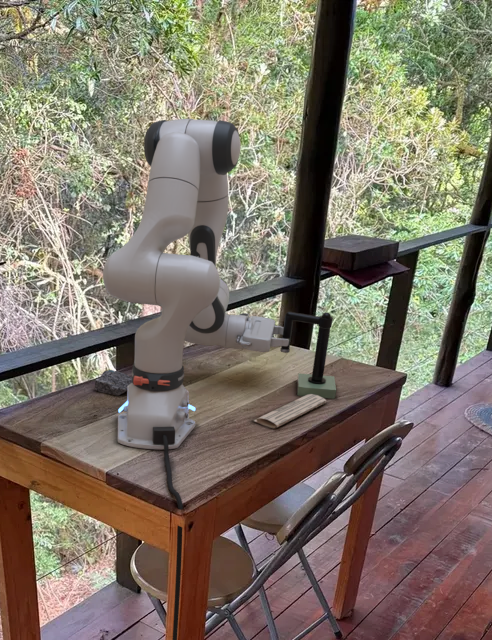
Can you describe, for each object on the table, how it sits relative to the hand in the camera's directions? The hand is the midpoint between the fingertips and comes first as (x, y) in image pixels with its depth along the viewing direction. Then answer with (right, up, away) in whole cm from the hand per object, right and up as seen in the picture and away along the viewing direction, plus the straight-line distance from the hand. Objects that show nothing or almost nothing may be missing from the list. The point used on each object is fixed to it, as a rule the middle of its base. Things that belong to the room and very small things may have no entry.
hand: (289, 337), depth 201 cm
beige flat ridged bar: (-1, -22, -11) cm, 25 cm away
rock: (-47, -15, -3) cm, 49 cm away
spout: (+4, -5, 0) cm, 6 cm away
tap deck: (+8, -14, +4) cm, 16 cm away
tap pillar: (+8, -11, +2) cm, 14 cm away
